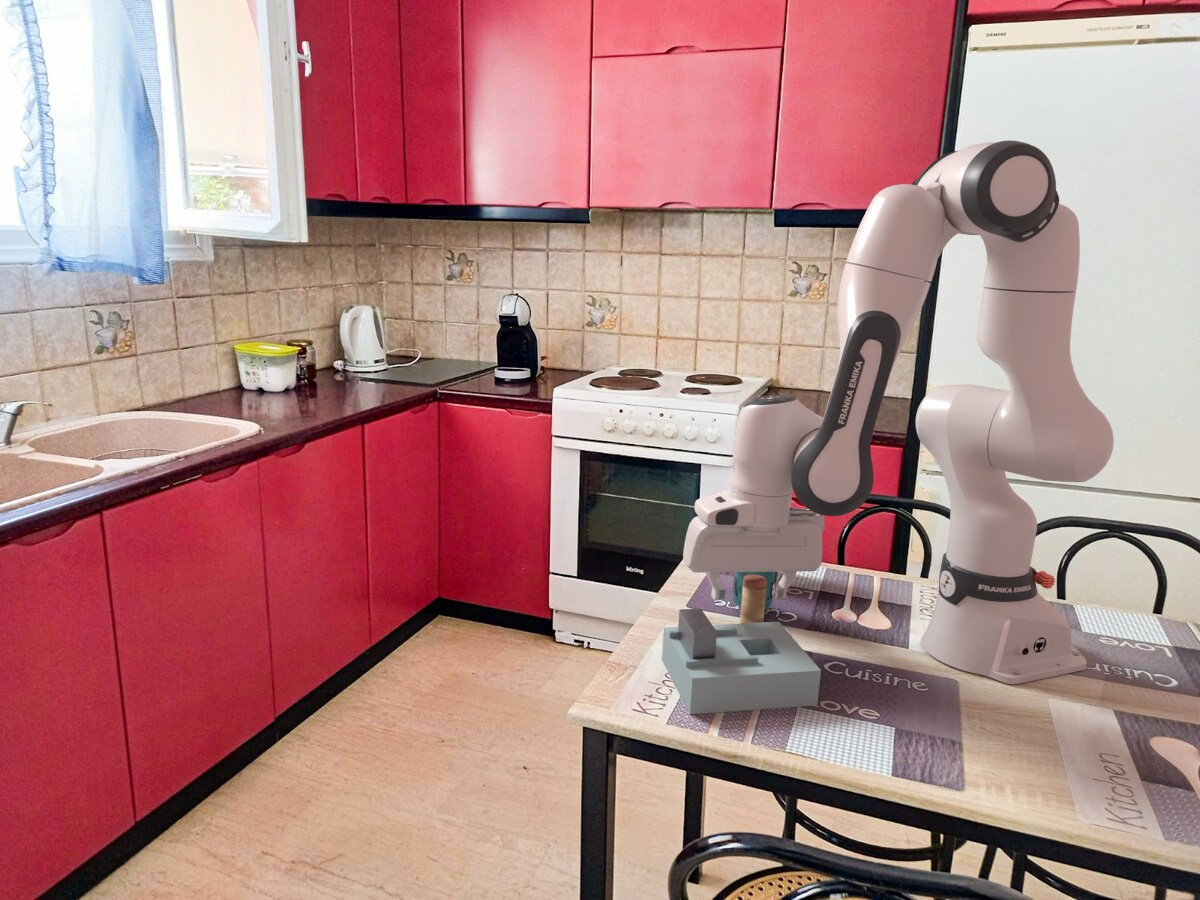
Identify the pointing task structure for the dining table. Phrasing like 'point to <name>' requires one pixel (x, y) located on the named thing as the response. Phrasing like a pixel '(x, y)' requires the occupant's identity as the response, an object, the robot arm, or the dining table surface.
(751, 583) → the pin
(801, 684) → the block
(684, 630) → the bar
